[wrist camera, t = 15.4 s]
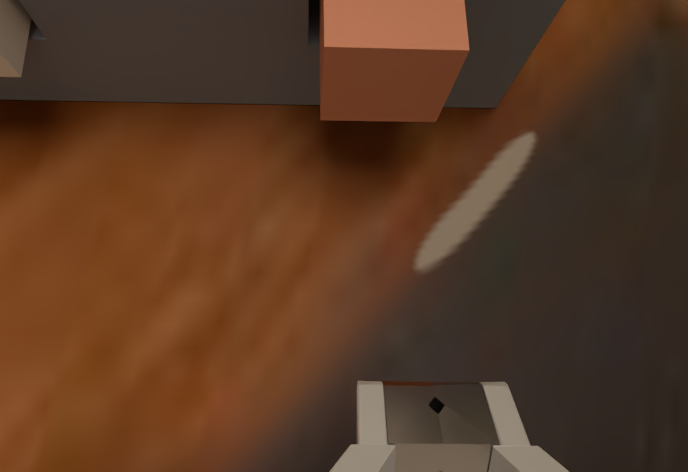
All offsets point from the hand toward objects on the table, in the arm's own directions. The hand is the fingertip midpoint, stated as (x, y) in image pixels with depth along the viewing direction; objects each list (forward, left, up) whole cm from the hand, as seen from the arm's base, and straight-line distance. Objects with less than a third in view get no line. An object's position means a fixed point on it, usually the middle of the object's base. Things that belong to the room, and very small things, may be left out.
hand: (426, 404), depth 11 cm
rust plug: (+13, -7, -5) cm, 15 cm away
